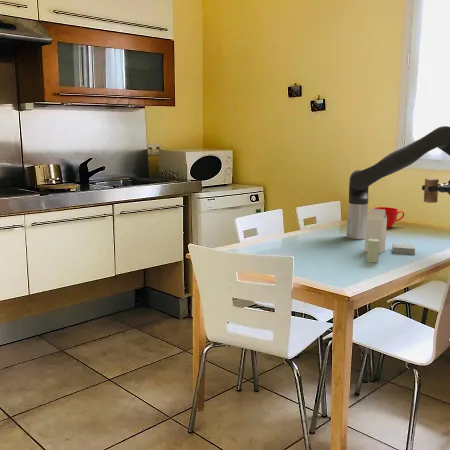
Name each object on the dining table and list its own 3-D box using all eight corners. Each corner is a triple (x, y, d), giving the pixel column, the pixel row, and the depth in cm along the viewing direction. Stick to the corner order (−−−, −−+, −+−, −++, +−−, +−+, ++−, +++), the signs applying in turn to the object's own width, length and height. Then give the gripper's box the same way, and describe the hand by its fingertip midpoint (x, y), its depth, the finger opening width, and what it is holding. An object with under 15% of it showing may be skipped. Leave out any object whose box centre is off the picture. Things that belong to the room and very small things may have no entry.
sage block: (368, 262, 213) (369, 240, 211) (366, 259, 217) (368, 238, 215) (378, 262, 212) (379, 241, 211) (376, 260, 216) (378, 239, 214)
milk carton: (380, 254, 227) (383, 210, 223) (364, 251, 230) (366, 209, 227) (384, 250, 232) (387, 208, 229) (369, 248, 236) (371, 207, 232)
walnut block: (428, 202, 225) (430, 179, 224) (423, 201, 229) (425, 178, 227) (437, 202, 226) (438, 179, 224) (431, 201, 230) (433, 178, 228)
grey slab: (392, 253, 228) (393, 247, 228) (392, 249, 237) (392, 242, 236) (414, 255, 226) (415, 248, 225) (413, 250, 234) (413, 244, 234)
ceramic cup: (407, 229, 278) (408, 211, 277) (375, 229, 279) (376, 210, 277) (399, 224, 291) (400, 207, 289) (369, 224, 291) (370, 207, 289)
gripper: (451, 177, 235) (416, 178, 232) (472, 180, 222) (435, 181, 218) (450, 193, 237) (415, 194, 234) (470, 197, 223) (434, 199, 220)
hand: (425, 188), depth 226 cm, fingers closed on walnut block, 4 cm apart
